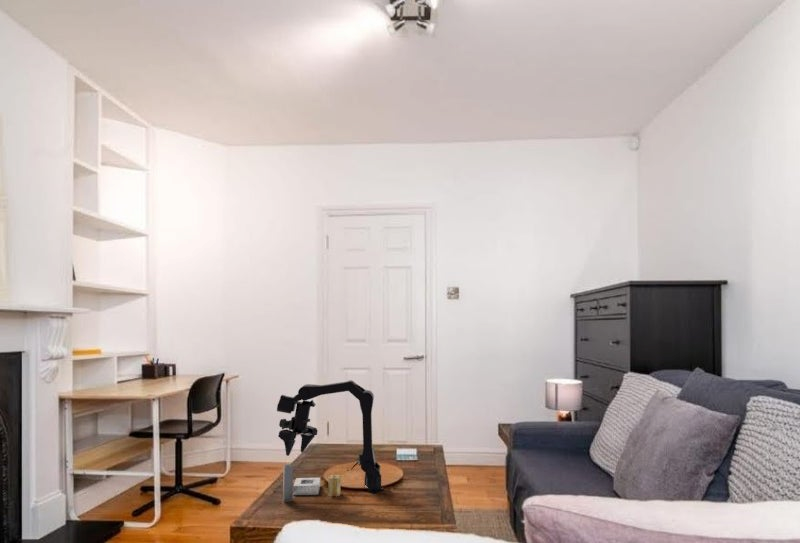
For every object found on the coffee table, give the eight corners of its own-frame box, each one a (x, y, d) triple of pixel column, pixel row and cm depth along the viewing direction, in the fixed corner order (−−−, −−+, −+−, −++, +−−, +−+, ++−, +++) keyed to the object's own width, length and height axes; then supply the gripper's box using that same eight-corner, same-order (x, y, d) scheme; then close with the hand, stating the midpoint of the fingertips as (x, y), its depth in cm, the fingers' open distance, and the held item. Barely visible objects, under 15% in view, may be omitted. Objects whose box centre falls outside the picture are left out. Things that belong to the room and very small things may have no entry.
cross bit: (343, 494, 207) (343, 476, 208) (333, 497, 204) (334, 479, 204) (334, 491, 211) (334, 473, 211) (325, 494, 207) (325, 476, 207)
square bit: (291, 498, 203) (291, 464, 204) (292, 501, 200) (293, 466, 201) (282, 499, 202) (283, 465, 203) (283, 502, 199) (284, 467, 200)
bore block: (320, 486, 217) (320, 477, 218) (318, 494, 207) (318, 485, 208) (296, 486, 216) (296, 478, 217) (293, 495, 207) (293, 486, 207)
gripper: (300, 409, 227) (294, 445, 226) (271, 412, 211) (264, 451, 209) (321, 415, 222) (314, 452, 220) (293, 419, 205) (285, 459, 204)
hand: (294, 453), depth 214 cm, fingers open, 9 cm apart
